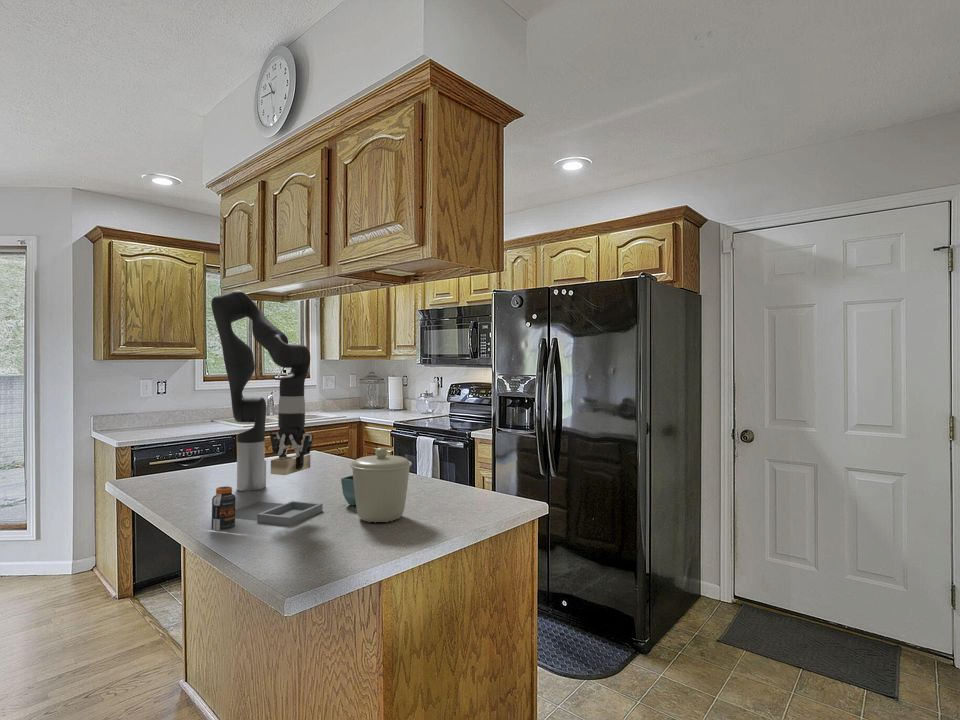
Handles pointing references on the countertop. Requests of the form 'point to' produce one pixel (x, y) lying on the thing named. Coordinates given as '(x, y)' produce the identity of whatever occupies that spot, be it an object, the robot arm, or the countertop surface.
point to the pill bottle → (223, 509)
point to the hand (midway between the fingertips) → (291, 468)
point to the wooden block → (288, 465)
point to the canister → (380, 486)
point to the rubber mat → (254, 510)
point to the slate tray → (289, 513)
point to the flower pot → (348, 489)
